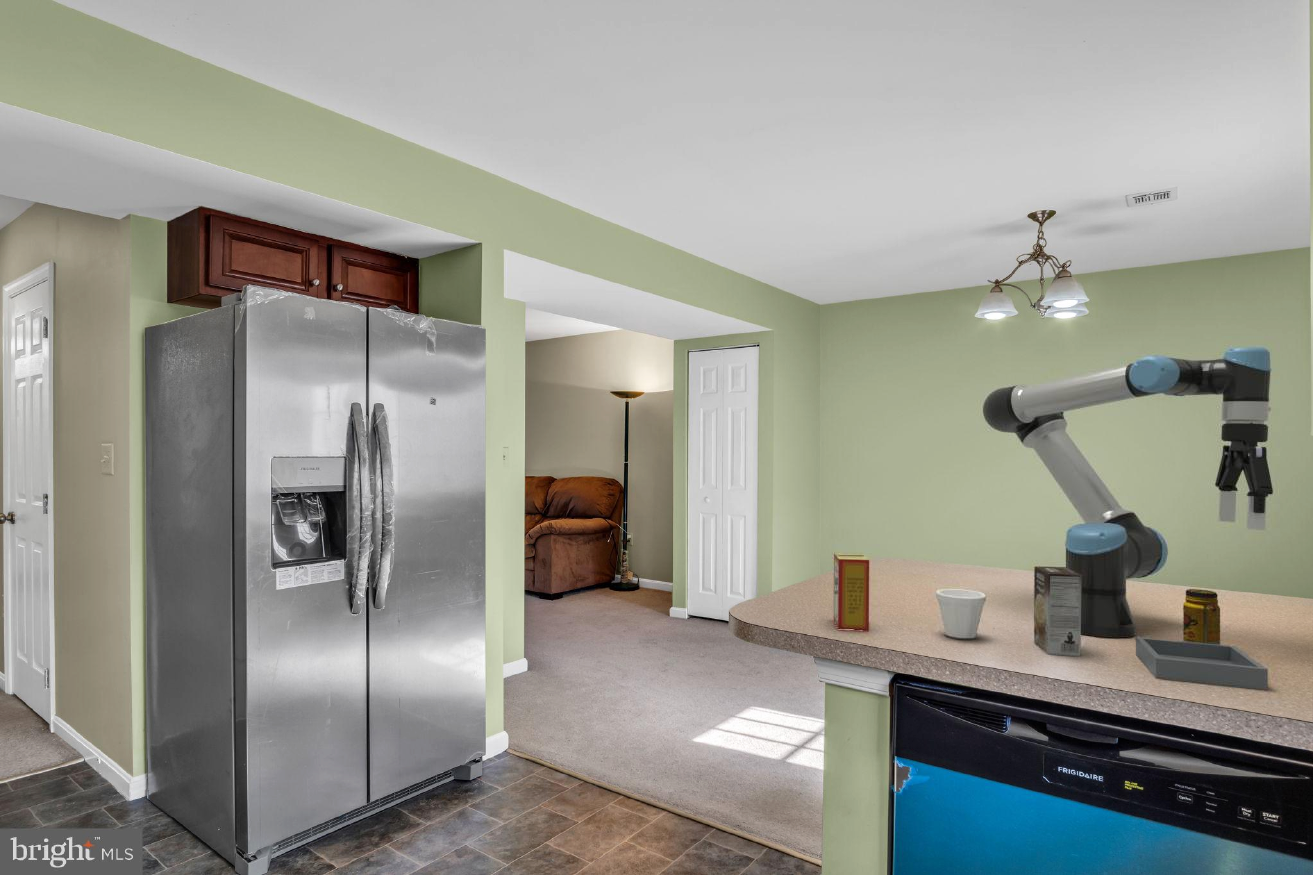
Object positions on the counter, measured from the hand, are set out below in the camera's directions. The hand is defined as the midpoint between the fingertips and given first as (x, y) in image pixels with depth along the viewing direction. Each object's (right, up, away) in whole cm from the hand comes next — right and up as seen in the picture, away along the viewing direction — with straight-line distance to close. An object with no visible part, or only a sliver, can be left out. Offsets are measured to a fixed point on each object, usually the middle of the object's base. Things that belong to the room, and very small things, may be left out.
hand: (1240, 525), depth 153 cm
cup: (-56, -25, +6) cm, 61 cm away
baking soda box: (-77, -25, +14) cm, 82 cm away
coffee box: (-40, -25, -4) cm, 48 cm away
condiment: (-10, -25, -4) cm, 27 cm away
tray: (-22, -25, -18) cm, 38 cm away
